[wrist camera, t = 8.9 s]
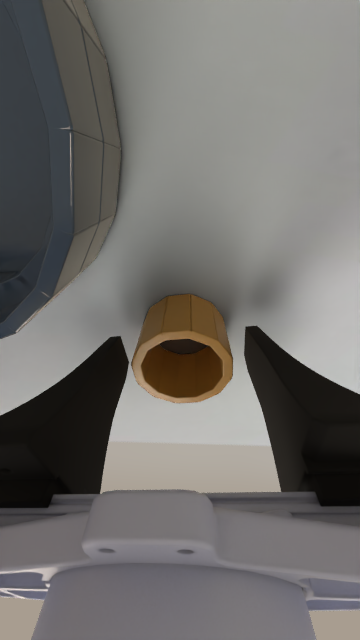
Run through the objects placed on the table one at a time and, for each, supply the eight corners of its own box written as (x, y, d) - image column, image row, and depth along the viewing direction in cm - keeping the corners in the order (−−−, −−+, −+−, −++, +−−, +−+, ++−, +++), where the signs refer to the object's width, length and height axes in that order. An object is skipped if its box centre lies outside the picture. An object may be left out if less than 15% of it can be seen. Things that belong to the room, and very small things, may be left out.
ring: (152, 361, 16) (143, 405, 13) (136, 298, 13) (121, 335, 10) (223, 356, 15) (232, 400, 12) (222, 290, 13) (233, 326, 10)
